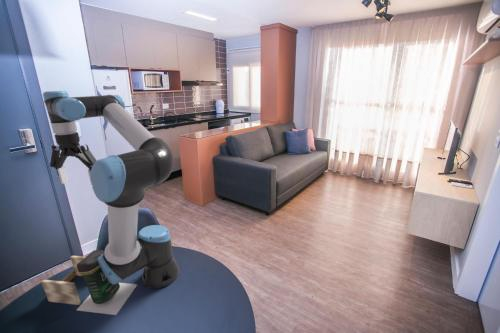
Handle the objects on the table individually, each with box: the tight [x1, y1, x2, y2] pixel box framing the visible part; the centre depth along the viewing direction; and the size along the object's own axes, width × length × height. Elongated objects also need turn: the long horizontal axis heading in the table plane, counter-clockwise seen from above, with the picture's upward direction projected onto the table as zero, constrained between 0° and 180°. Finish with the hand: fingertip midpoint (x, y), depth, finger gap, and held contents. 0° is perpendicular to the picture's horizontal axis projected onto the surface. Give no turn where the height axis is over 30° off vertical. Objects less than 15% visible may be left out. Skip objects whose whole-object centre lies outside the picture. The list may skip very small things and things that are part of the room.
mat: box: [76, 282, 138, 316], centre depth 97 cm, size 16×14×1 cm
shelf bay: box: [40, 255, 86, 306], centre depth 100 cm, size 14×14×10 cm
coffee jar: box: [77, 249, 120, 304], centre depth 94 cm, size 10×8×19 cm
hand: (79, 183), depth 102 cm, fingers open, 13 cm apart
